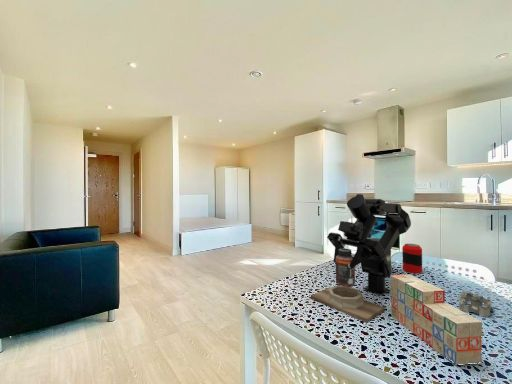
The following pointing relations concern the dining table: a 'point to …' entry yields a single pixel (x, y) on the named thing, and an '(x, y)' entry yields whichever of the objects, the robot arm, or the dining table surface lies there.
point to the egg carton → (474, 303)
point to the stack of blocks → (436, 319)
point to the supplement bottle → (344, 268)
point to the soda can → (412, 258)
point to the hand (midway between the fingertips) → (342, 264)
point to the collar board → (355, 313)
